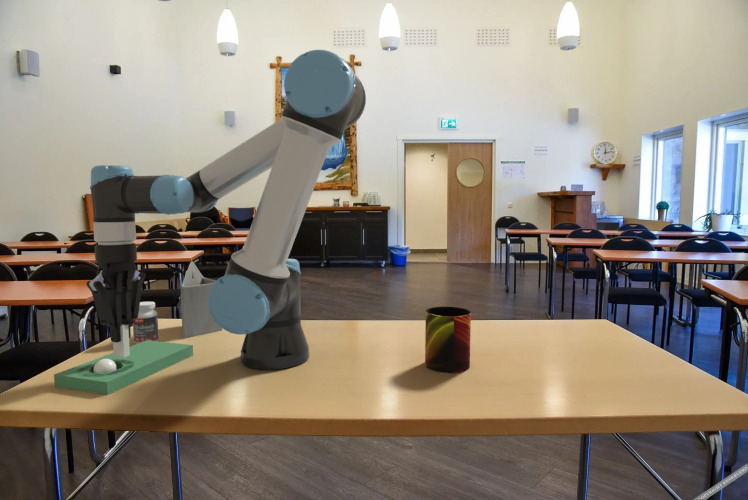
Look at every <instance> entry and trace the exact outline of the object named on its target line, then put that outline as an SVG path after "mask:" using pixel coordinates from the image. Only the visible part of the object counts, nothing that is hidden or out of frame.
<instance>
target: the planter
mask: <svg viewBox="0 0 748 500" xmlns="http://www.w3.org/2000/svg"><path fill="white" fill-rule="evenodd" d="M216 281H217V280H215V279H211V278H208V277H204V276H203V274H202V273H201V272H200V270H199V269H198V267H197V266H196V264H195V262H194V261H192V260H191V261H190V262H189V265H188V267H187V270H186V272H185V275H184V278H183V280H182V283H181V286H180V306H181V307H180V308H181V330H182V331H181V332H182V339H188V338H189V339H190V338H193V337H198V336H203V335H209V334H213V333H216V332H220V331H222V330H223V328H221V327H220V326H219V325H218V324H217V323H216V322H215V321H214V319H213V316H212V314H211V313H210V311H209V307H208V295H209V291H210V289H211V287H212V285H213V284H214V283H215V282H216Z"/></svg>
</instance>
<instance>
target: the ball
mask: <svg viewBox="0 0 748 500" xmlns="http://www.w3.org/2000/svg"><path fill="white" fill-rule="evenodd" d="M115 370H116V364H115V362H114V361H112V360H110V359H102V360H100V361H98V362H97V363H96V364H95V366H94V373H107V372H111V371H115Z"/></svg>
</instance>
